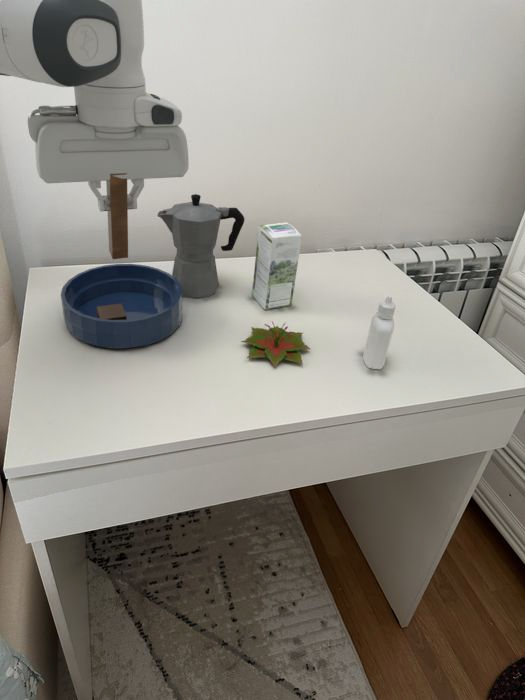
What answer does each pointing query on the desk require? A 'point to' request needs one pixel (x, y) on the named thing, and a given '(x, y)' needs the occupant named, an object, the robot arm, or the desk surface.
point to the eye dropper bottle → (379, 335)
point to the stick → (118, 216)
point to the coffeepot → (198, 243)
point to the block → (111, 312)
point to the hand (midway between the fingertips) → (118, 209)
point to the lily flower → (276, 344)
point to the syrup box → (276, 265)
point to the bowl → (136, 298)
